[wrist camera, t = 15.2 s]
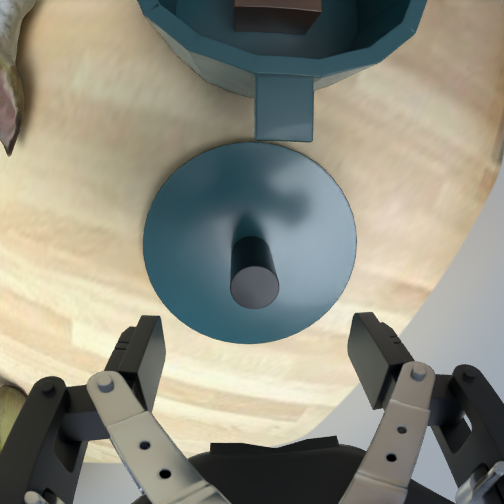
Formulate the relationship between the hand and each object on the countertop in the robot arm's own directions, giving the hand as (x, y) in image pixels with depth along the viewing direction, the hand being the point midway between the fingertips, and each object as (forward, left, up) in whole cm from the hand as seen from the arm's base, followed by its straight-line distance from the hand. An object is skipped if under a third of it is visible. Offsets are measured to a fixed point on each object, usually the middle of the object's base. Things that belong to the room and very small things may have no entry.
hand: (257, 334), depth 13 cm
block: (-1, -17, -10) cm, 20 cm away
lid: (0, 0, -10) cm, 10 cm away
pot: (-1, -17, -10) cm, 20 cm away
